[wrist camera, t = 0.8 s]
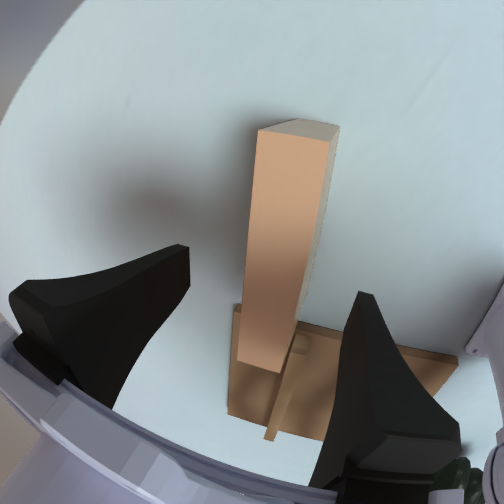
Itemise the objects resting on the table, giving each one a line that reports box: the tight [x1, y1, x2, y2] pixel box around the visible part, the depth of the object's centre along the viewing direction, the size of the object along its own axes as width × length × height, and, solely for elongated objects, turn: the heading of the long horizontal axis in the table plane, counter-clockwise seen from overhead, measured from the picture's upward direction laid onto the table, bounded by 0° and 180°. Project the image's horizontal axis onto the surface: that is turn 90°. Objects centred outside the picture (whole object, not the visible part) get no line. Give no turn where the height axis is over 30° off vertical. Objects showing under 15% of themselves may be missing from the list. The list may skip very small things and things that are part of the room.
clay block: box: [237, 119, 340, 373], centre depth 16 cm, size 2×12×8 cm, turn 175°
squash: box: [429, 457, 485, 504], centre depth 22 cm, size 14×15×15 cm
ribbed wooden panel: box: [227, 304, 459, 442], centre depth 26 cm, size 20×18×3 cm
